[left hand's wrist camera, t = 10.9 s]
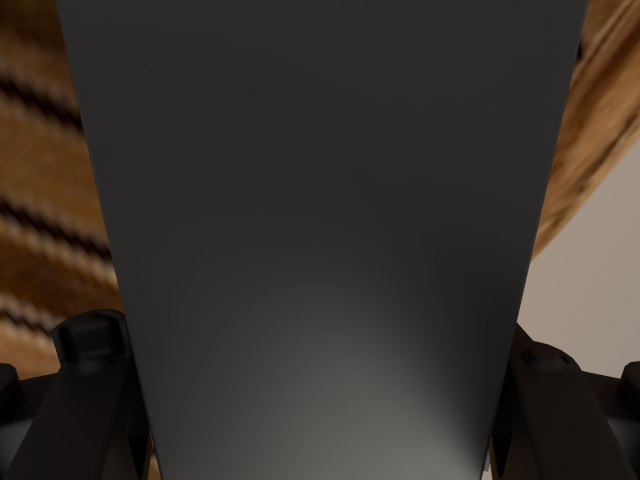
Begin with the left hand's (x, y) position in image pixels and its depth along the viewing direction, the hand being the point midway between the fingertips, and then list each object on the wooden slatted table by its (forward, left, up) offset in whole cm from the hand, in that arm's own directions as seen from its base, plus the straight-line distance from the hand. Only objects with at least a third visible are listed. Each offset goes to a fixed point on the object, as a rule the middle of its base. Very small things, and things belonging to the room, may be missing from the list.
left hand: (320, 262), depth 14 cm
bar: (-4, +9, -1) cm, 10 cm away
